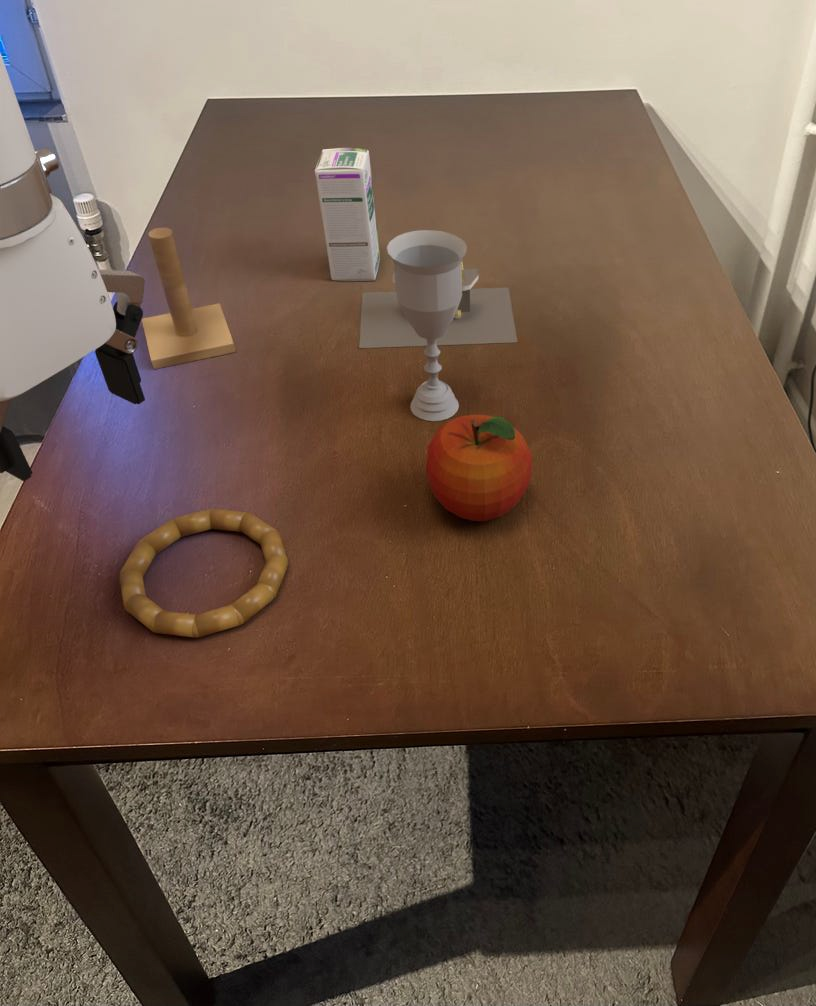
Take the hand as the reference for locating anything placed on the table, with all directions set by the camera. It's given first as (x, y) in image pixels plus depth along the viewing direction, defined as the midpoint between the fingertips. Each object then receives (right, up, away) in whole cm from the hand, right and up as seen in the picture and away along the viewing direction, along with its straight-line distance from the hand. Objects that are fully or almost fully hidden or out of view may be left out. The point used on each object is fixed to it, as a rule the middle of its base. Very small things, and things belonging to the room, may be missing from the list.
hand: (73, 432), depth 62 cm
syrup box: (+13, +25, +51) cm, 58 cm away
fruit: (+28, -5, +21) cm, 35 cm away
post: (-5, +14, +40) cm, 42 cm away
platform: (+23, +17, +43) cm, 52 cm away
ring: (+5, -11, +13) cm, 18 cm away
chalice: (+24, +5, +31) cm, 39 cm away
